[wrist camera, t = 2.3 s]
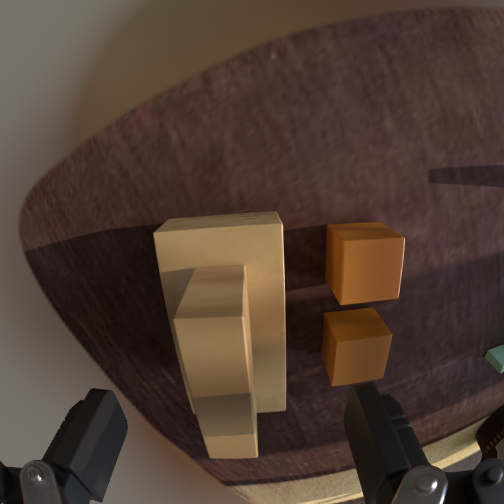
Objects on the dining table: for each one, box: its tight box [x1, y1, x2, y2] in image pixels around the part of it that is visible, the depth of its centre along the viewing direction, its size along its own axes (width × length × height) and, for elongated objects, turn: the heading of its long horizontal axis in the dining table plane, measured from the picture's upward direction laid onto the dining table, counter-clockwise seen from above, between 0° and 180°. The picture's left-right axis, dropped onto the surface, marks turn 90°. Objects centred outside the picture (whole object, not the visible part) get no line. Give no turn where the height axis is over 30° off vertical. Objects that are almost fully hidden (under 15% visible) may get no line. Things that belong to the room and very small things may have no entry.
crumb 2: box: [321, 307, 392, 387], centre depth 16 cm, size 3×3×3 cm
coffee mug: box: [476, 406, 504, 462], centre depth 18 cm, size 12×9×10 cm
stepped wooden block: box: [153, 211, 286, 459], centre depth 13 cm, size 10×5×8 cm, turn 4°
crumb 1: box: [325, 222, 405, 305], centre depth 14 cm, size 3×3×3 cm
